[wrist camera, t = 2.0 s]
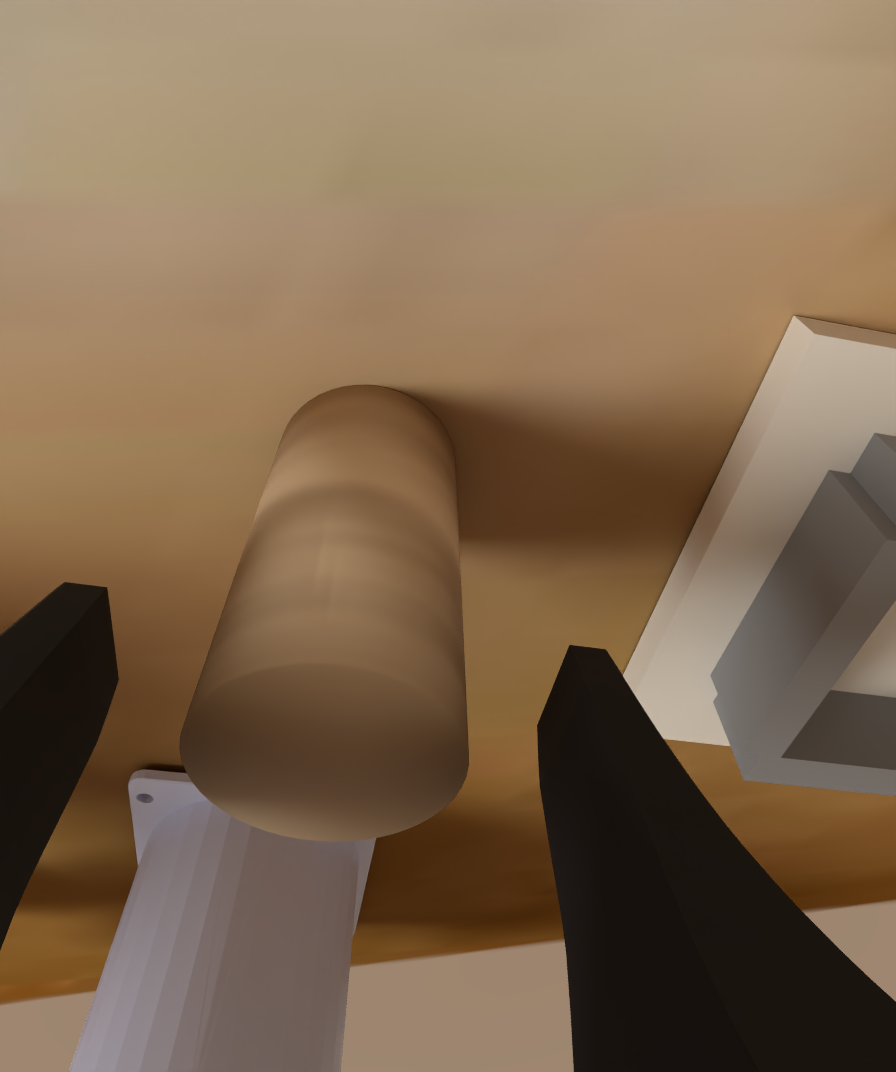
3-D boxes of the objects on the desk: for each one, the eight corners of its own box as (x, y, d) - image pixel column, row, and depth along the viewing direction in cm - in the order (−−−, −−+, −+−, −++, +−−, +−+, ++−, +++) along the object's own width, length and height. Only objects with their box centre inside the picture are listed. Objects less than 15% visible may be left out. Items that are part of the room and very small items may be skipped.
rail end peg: (438, 546, 18) (441, 851, 12) (275, 523, 18) (184, 829, 11) (471, 401, 16) (496, 682, 9) (283, 370, 15) (173, 645, 9)
